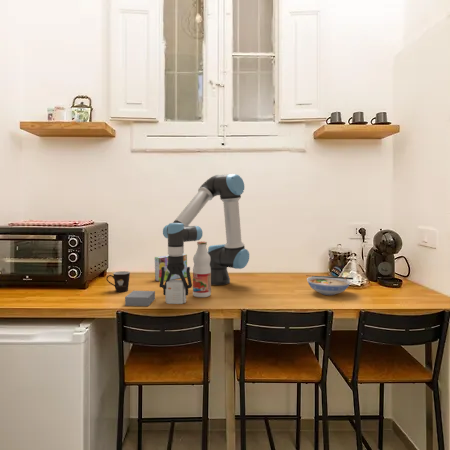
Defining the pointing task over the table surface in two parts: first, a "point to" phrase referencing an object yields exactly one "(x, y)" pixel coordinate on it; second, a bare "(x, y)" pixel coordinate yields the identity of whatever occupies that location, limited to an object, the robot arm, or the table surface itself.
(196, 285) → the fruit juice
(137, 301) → the stand
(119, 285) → the coffee mug
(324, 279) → the ramen bowl
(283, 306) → the table surface
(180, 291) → the small box
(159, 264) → the snack box
